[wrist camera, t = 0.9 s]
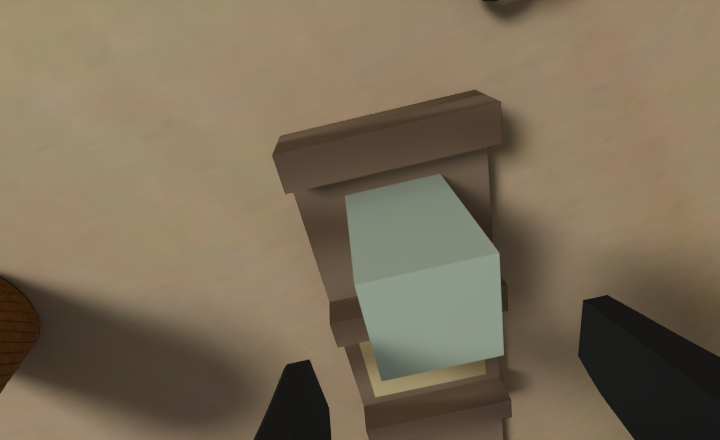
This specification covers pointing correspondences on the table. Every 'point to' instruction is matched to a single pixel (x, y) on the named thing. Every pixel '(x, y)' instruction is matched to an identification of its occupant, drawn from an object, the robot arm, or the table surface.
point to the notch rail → (333, 256)
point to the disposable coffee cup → (15, 330)
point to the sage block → (424, 278)
